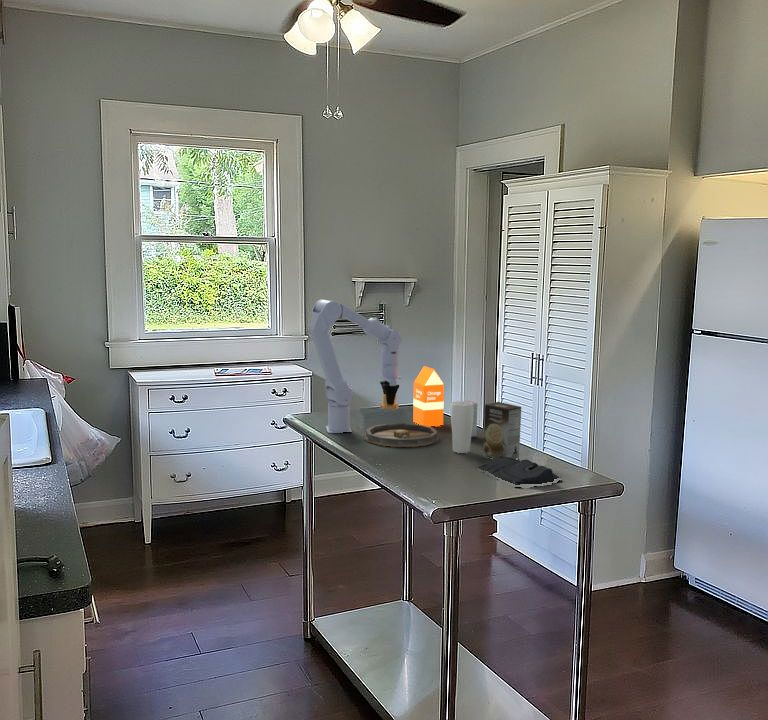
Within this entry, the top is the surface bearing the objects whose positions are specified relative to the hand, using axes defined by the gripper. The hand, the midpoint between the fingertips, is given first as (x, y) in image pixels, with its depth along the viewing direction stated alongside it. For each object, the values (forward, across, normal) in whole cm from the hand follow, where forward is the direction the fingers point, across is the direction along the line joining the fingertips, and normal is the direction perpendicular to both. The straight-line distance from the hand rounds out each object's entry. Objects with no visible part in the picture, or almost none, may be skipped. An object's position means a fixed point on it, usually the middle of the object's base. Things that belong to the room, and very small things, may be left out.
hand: (389, 403), depth 270 cm
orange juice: (+8, +1, -14) cm, 16 cm away
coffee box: (+8, -47, -26) cm, 54 cm away
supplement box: (+8, -19, -22) cm, 30 cm away
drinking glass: (+8, -38, -16) cm, 42 cm away
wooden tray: (+8, -19, -1) cm, 21 cm away
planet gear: (+2, 0, 0) cm, 2 cm away
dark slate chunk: (+9, -64, -25) cm, 70 cm away
